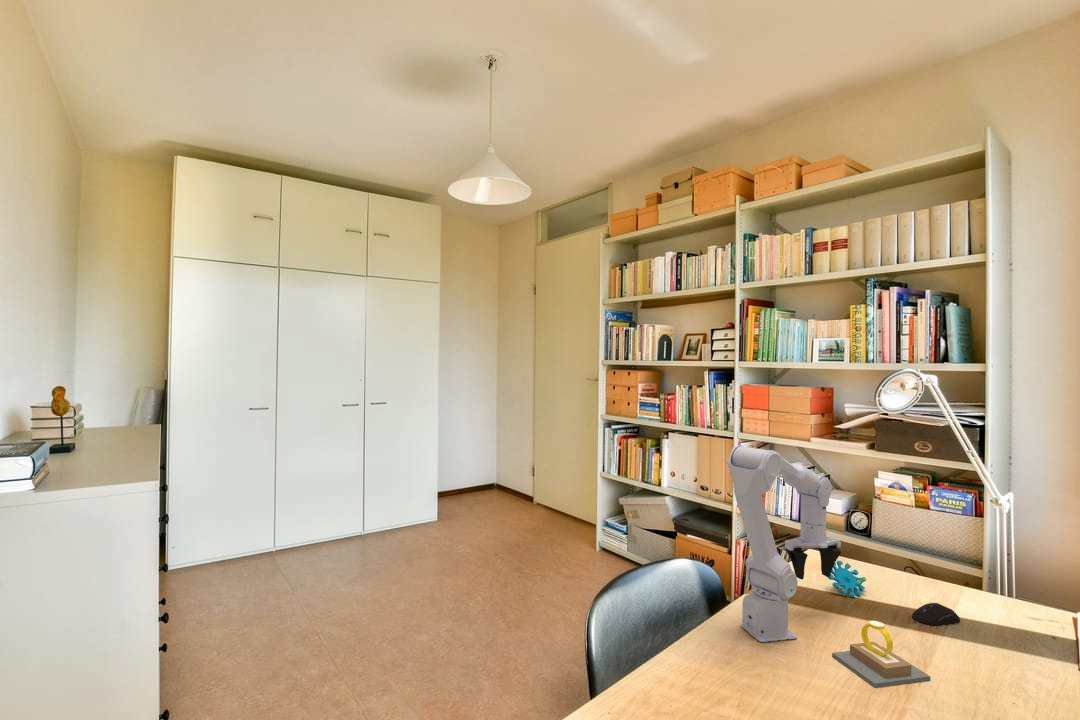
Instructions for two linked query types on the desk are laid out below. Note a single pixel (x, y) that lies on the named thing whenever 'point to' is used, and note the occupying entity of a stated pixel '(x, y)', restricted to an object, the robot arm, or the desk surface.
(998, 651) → the desk surface
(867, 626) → the watch
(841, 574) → the blue virus model
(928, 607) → the gaming mouse
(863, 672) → the base board
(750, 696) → the desk surface
